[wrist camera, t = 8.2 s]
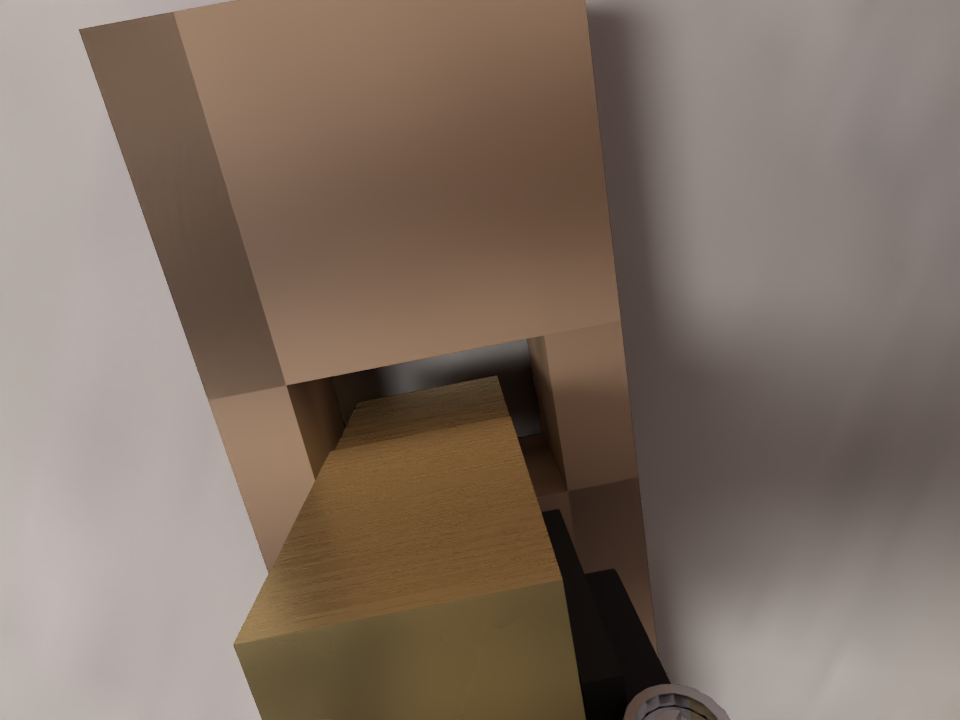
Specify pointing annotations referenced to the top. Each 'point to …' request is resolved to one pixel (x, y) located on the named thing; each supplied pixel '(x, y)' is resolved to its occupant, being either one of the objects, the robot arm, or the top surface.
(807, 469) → the top surface
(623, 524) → the rail
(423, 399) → the tan rectangular block
